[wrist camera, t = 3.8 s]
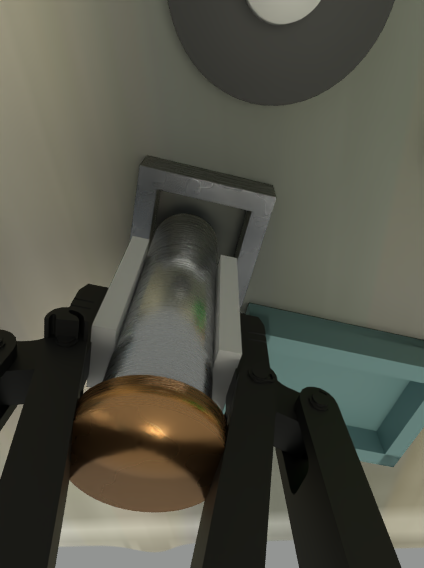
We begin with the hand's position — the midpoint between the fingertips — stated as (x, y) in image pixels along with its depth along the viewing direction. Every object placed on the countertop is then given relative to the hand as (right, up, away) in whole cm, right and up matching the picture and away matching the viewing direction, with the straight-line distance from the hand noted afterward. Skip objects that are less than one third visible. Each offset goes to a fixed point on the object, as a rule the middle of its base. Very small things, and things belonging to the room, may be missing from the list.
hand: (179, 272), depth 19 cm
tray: (+9, -7, +10) cm, 16 cm away
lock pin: (0, +2, +3) cm, 3 cm away
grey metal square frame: (+1, +3, +5) cm, 6 cm away
